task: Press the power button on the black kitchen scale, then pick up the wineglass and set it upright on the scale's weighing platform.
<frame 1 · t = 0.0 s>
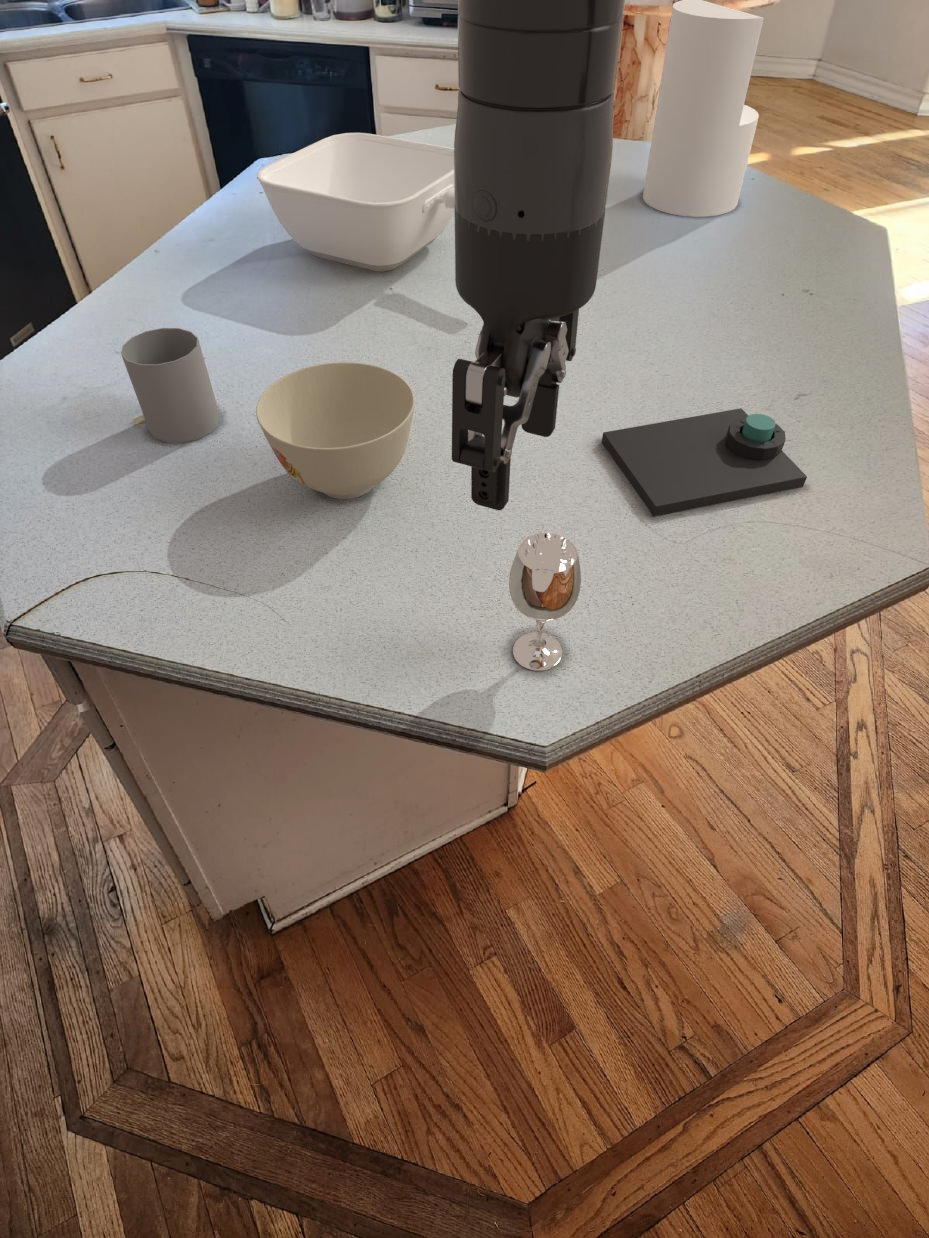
hand: (515, 466, 49), 22 cm above the table, tool pointing down, fingers open, 8 cm apart
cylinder: (689, 200, 141), on the table
power button: (758, 428, 85), point 4 cm above the table, slide at 0.1 cm
wineglass: (537, 652, 68), on the table
pan: (417, 262, 123), on the table
bowl: (347, 483, 84), on the table
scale: (698, 463, 86), on the table
cup: (185, 424, 92), on the table
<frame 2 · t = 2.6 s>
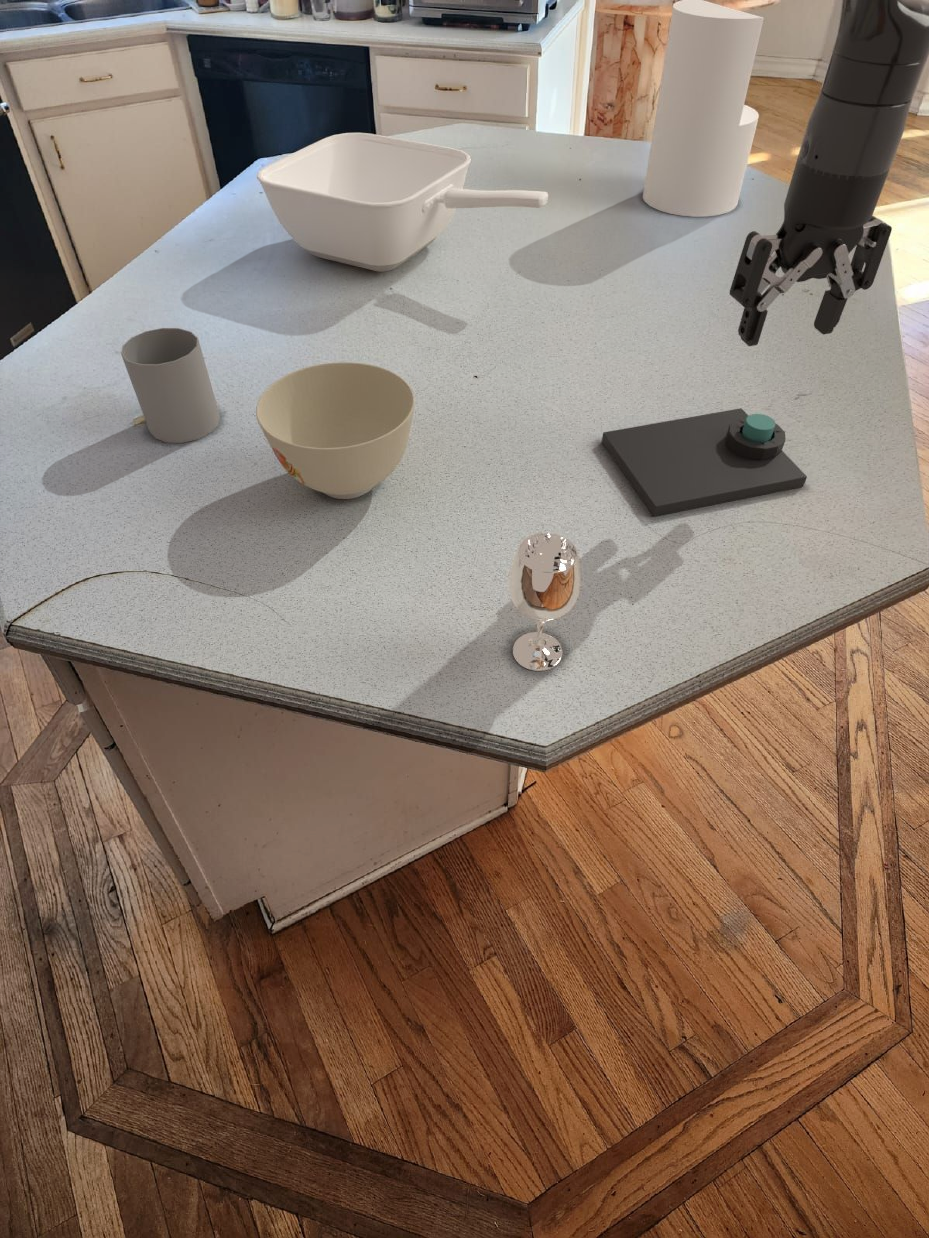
hand: (785, 336, 76), 14 cm above the table, tool pointing down, fingers open, 8 cm apart
nothing on the table moved.
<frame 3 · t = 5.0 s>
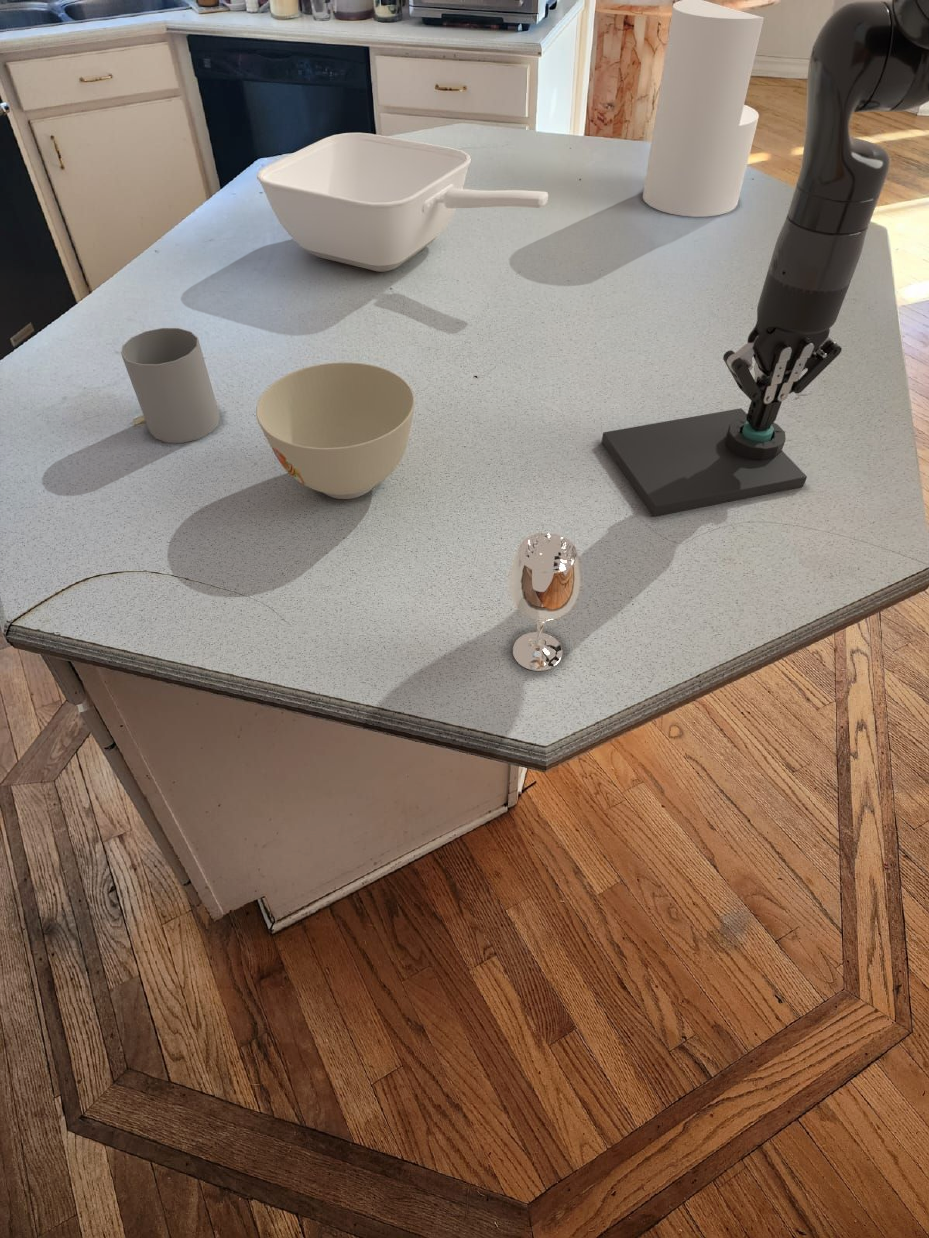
hand: (758, 426, 84), 4 cm above the table, tool pointing down, fingers closed
power button: (756, 433, 85), point 3 cm above the table, slide at -0.6 cm, touching gripper
everything else where it was.
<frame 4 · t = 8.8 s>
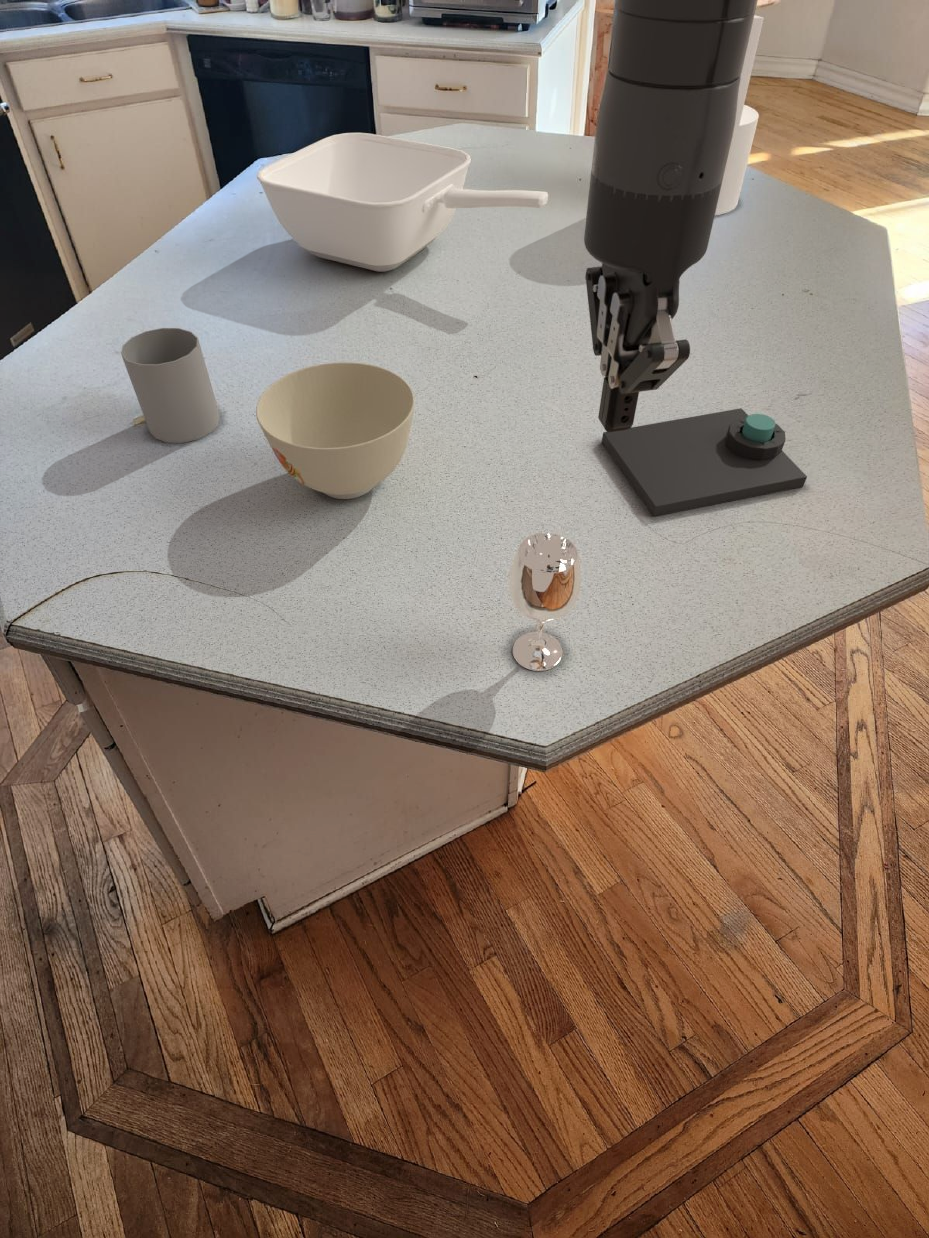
hand: (614, 425, 56), 20 cm above the table, tool pointing down, fingers closed
power button: (758, 428, 85), point 4 cm above the table, slide at 0.1 cm
everything else where it was.
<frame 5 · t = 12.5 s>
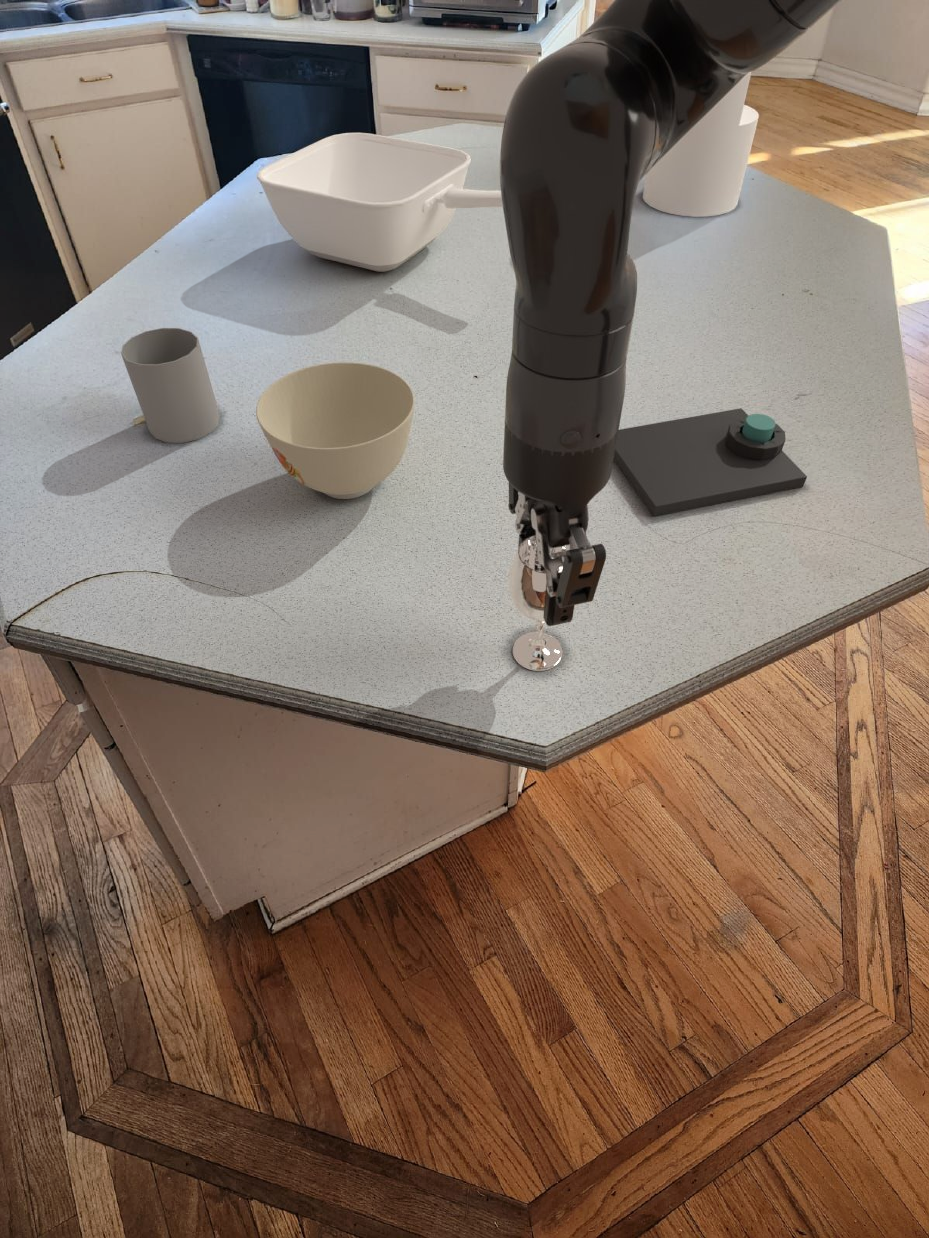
hand: (543, 592, 62), 8 cm above the table, tool pointing down, fingers closed on wineglass, 6 cm apart
wineglass: (537, 652, 68), on the table, touching gripper
everything else where it was.
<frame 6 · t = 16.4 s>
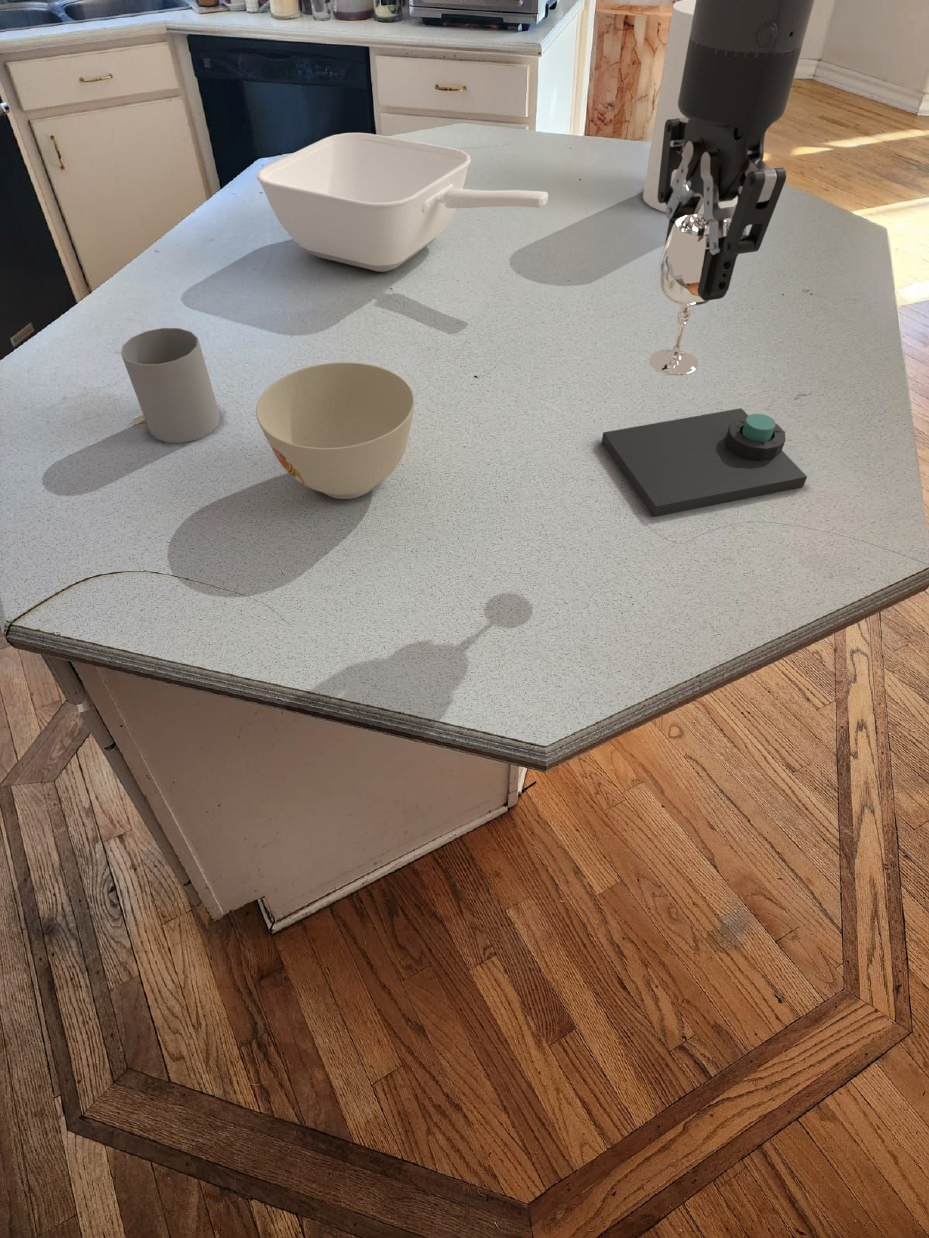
hand: (692, 280, 64), 24 cm above the table, tool pointing down, fingers closed on wineglass, 6 cm apart
wineglass: (673, 364, 70), point 16 cm above the table, touching gripper
everything else where it was.
when the fingers open (9 cm above the table, at t = 20.4 s): wineglass stays where it is, resting on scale.
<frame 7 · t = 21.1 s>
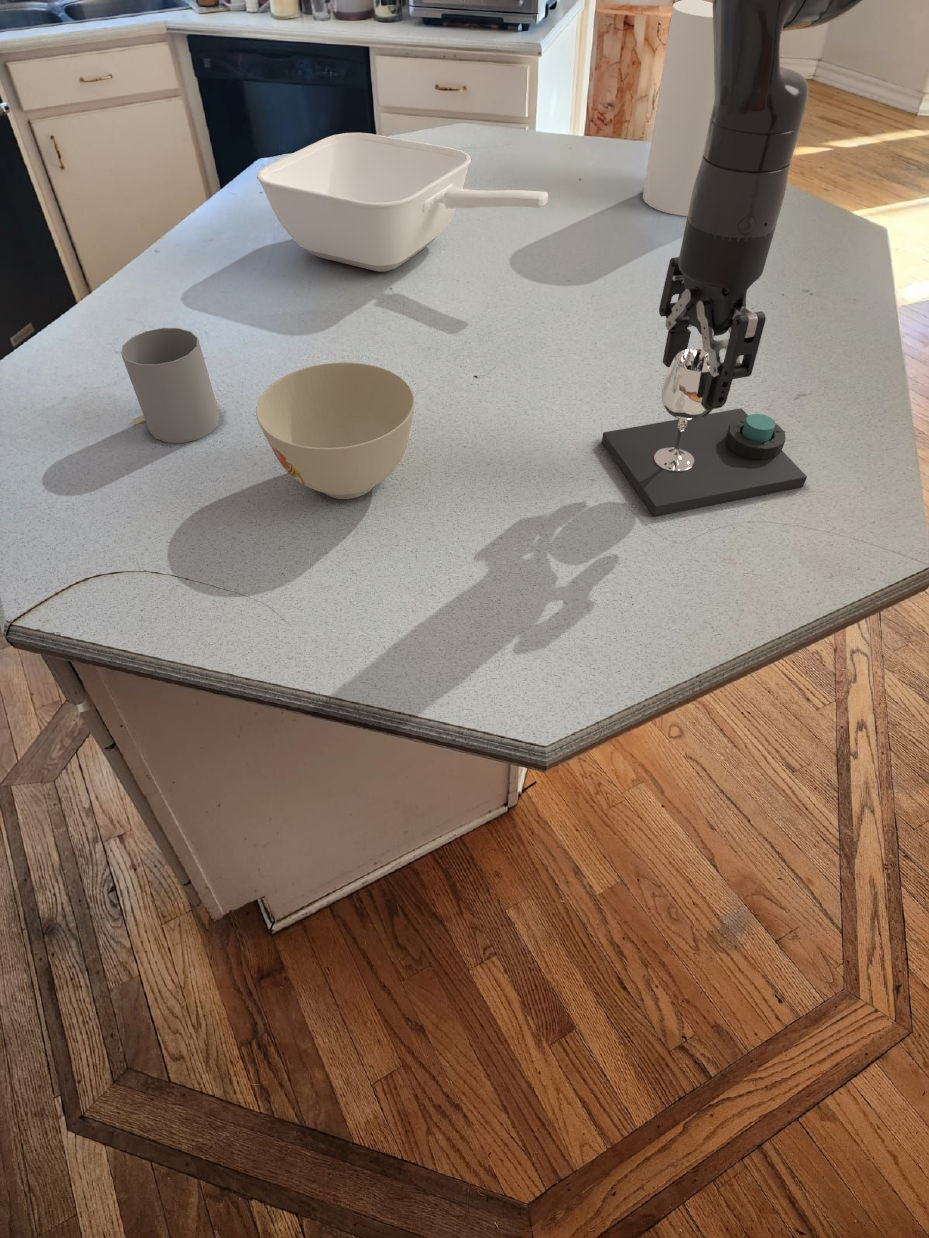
hand: (691, 385, 78), 11 cm above the table, tool pointing down, fingers open, 8 cm apart
wineglass: (673, 461, 84), point 1 cm above the table, touching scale
everything else where it was.
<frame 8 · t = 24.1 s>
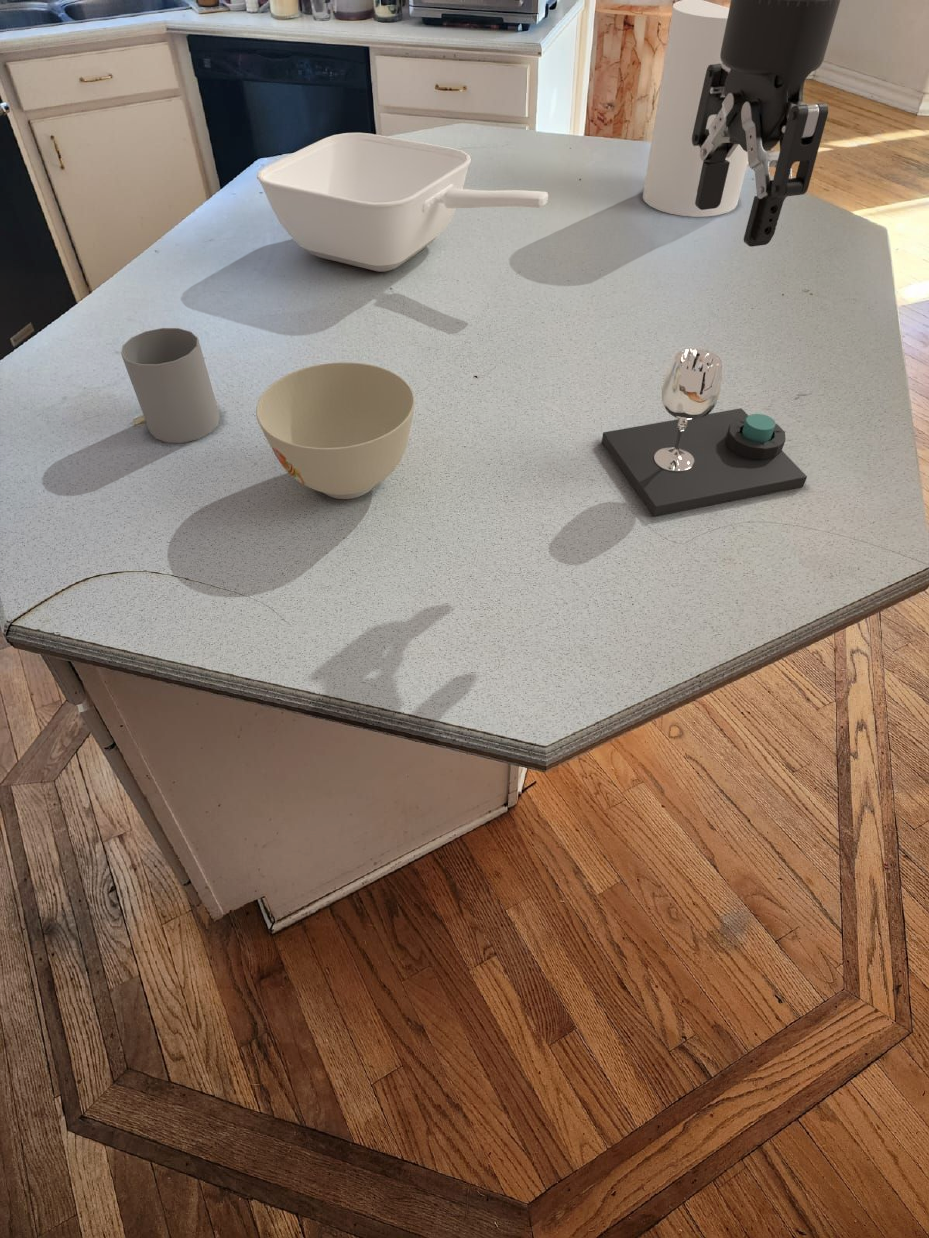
hand: (730, 225, 66), 26 cm above the table, tool pointing down, fingers open, 8 cm apart
nothing on the table moved.
at the end: power button pushed in 0.9 cm at the most during the clip, back to where it started at the end; wineglass inside the target area on the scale (0.2 cm from its centre), point 1.2 cm above the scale's base; wineglass touching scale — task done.
